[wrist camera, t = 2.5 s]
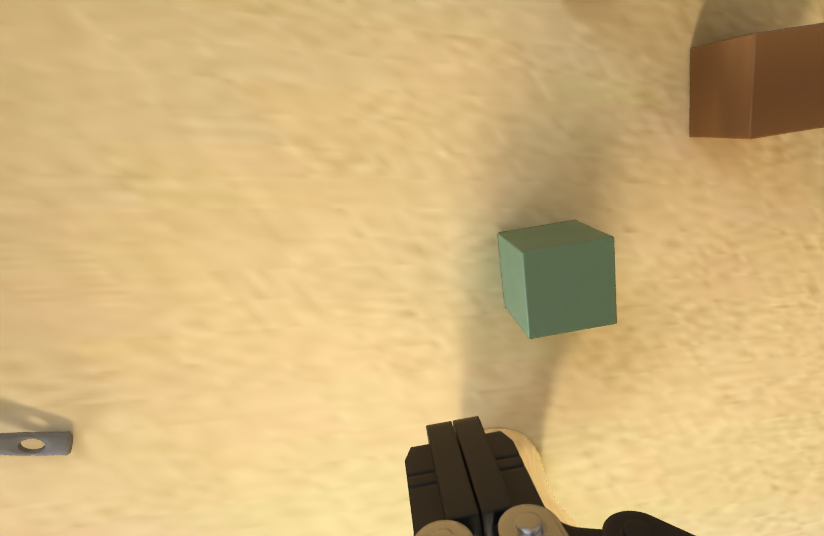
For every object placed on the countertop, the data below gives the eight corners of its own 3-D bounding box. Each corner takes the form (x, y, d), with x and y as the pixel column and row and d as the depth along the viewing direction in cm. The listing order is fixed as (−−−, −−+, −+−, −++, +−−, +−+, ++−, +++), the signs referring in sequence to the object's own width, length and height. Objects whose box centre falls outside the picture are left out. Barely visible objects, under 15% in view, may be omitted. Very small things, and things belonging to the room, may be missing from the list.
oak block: (689, 48, 26) (754, 32, 22) (772, 35, 26) (853, 18, 22) (688, 137, 27) (749, 139, 23) (767, 124, 27) (842, 124, 23)
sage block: (496, 232, 28) (521, 252, 23) (576, 219, 28) (614, 236, 24) (504, 307, 29) (529, 339, 25) (579, 294, 29) (617, 324, 25)
